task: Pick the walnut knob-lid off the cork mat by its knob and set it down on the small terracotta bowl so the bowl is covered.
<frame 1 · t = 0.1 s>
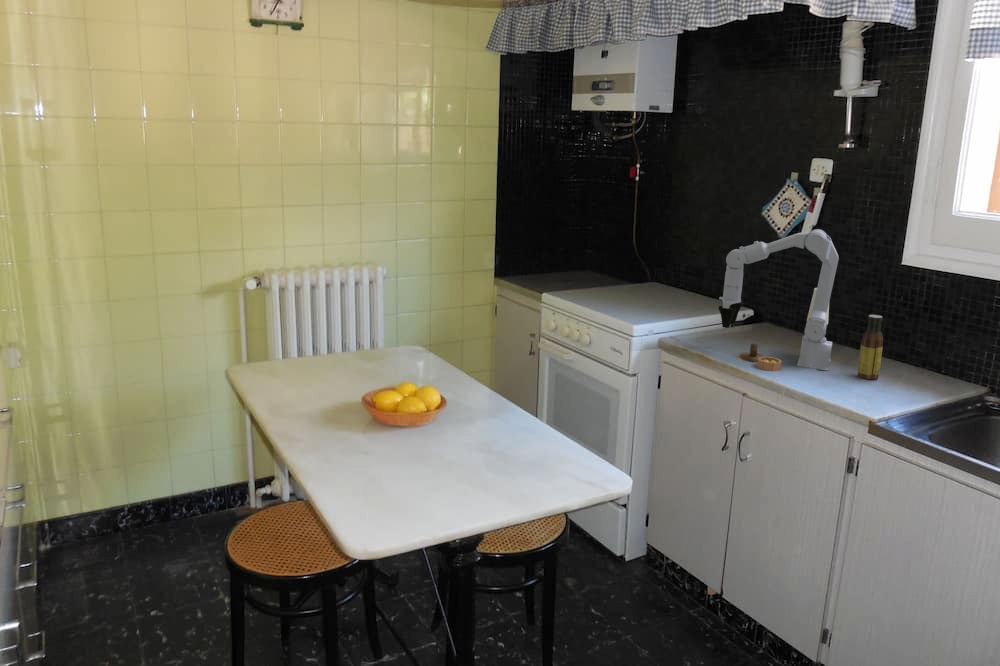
hand: (728, 325, 268), 10 cm above the table, tool pointing down, fingers open, 7 cm apart
bowl: (768, 368, 256), on the table
sauce bottle: (867, 377, 251), on the table
mat: (752, 359, 265), on the table
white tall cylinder: (811, 359, 268), on the table
lid: (752, 358, 265), resting on mat
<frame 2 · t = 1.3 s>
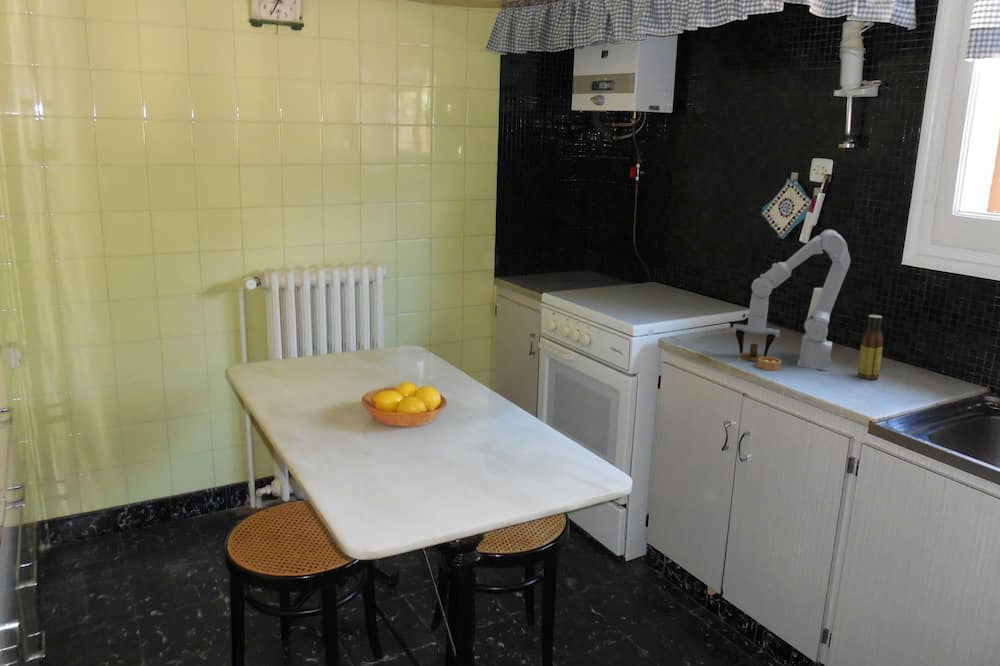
hand: (753, 354, 265), 2 cm above the table, tool pointing down, fingers open, 7 cm apart
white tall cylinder: (811, 359, 268), on the table, touching arm
everything else where it was.
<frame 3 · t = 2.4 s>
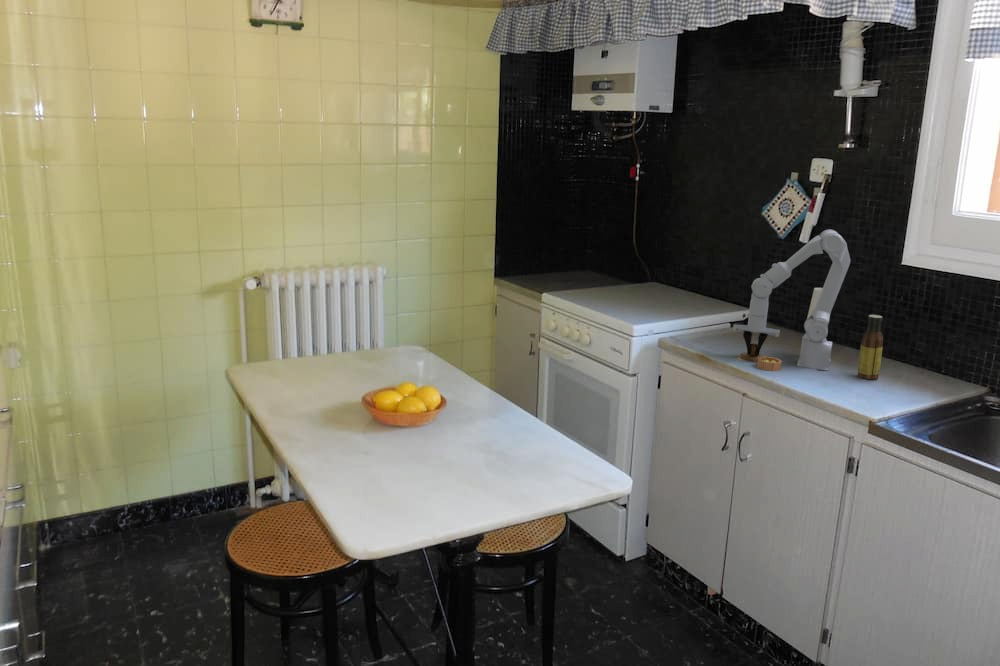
hand: (753, 354, 265), 2 cm above the table, tool pointing down, fingers closed on lid, 2 cm apart
lid: (752, 358, 265), resting on mat, touching gripper
everything else where it was.
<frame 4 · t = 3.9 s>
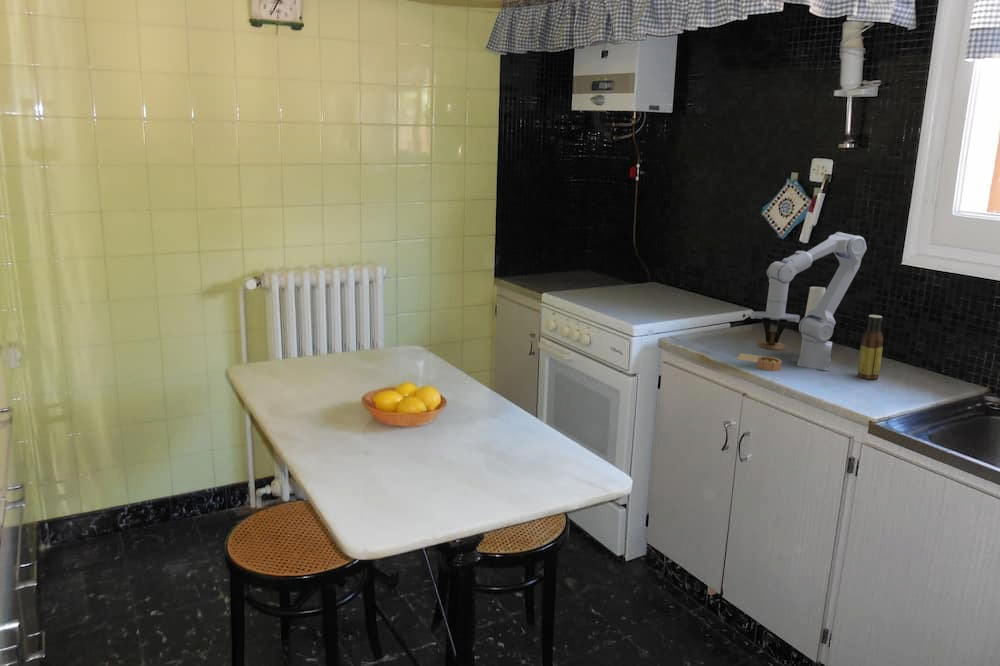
hand: (771, 341, 254), 9 cm above the table, tool pointing down, fingers closed on lid, 2 cm apart
lid: (770, 346, 254), point 7 cm above the table, touching gripper
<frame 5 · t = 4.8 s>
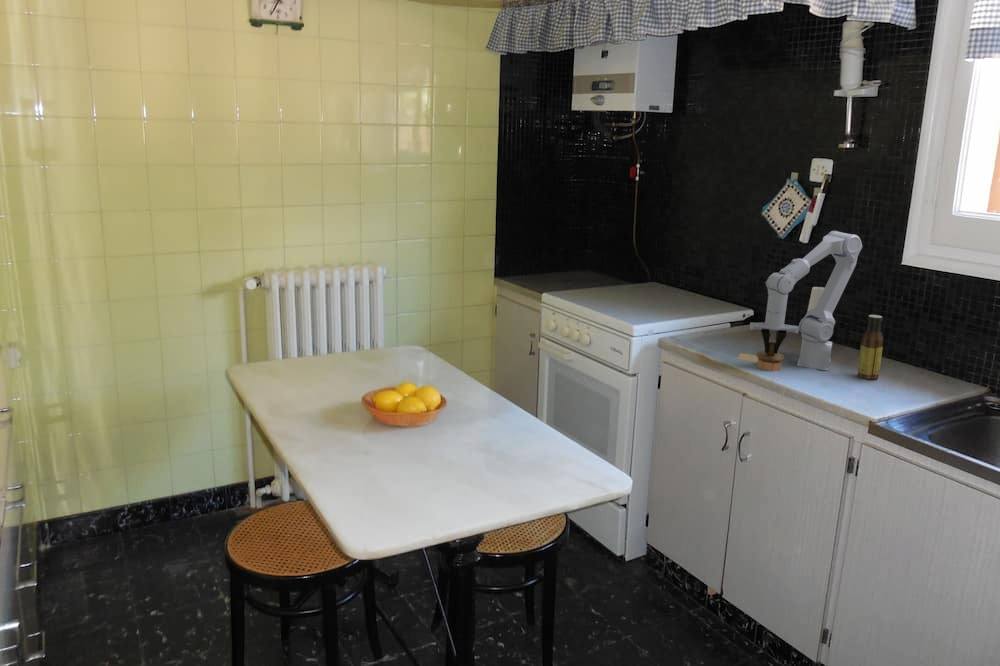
hand: (770, 352, 254), 5 cm above the table, tool pointing down, fingers closed on lid, 2 cm apart
lid: (770, 357, 255), point 4 cm above the table, touching gripper
everything else where it was.
when the fingers open (5 cm above the table, at t = 5.2 s): lid stays where it is, resting on bowl.
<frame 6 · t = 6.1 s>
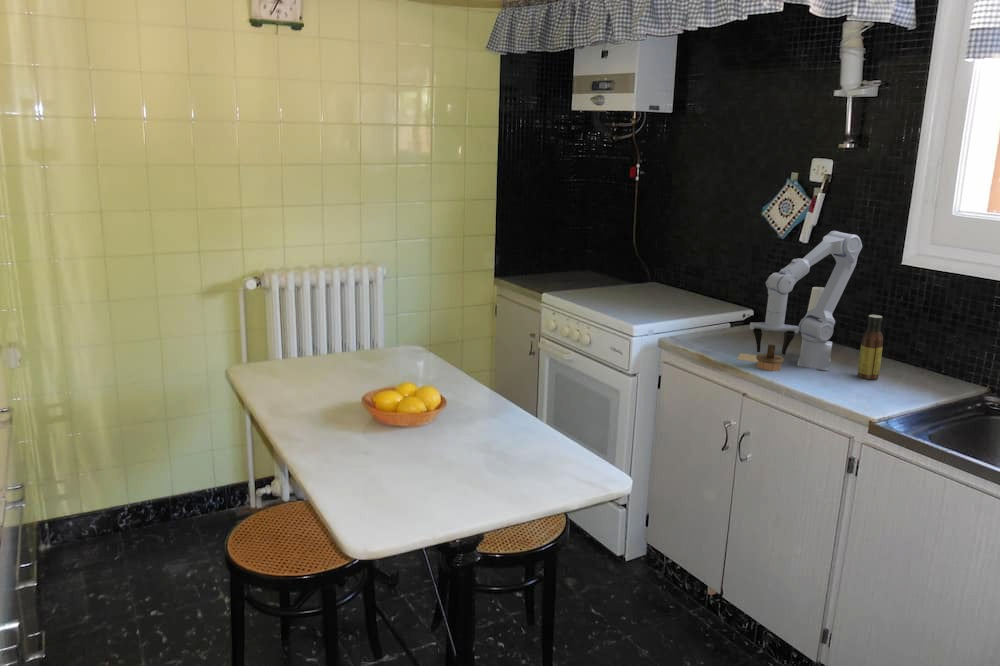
hand: (770, 352, 254), 5 cm above the table, tool pointing down, fingers open, 7 cm apart
lid: (769, 359, 255), point 3 cm above the table, touching bowl
everything else where it was.
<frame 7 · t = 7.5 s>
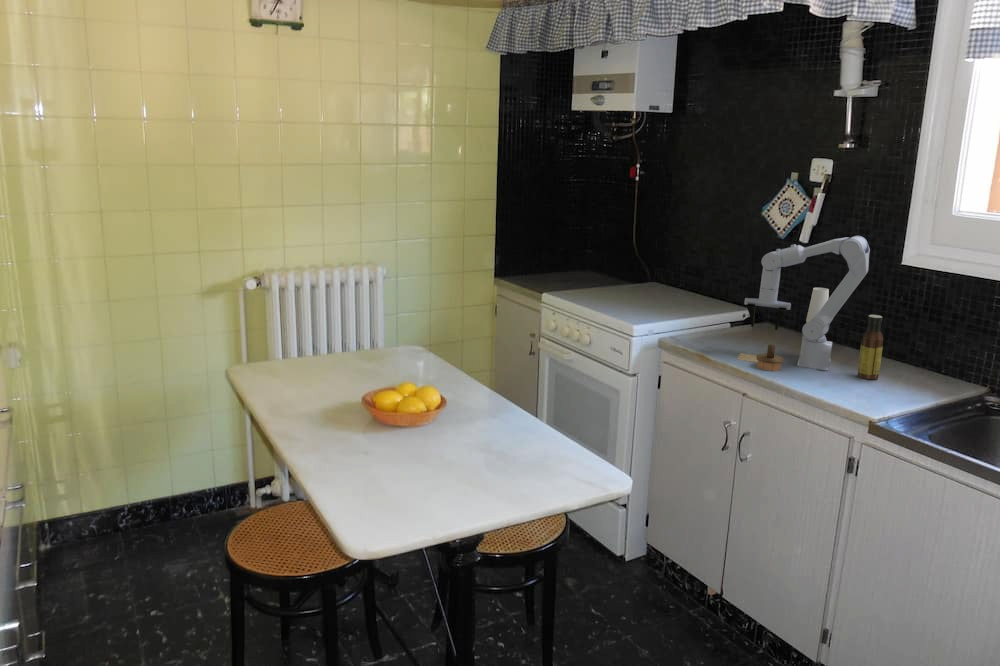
hand: (764, 327, 267), 10 cm above the table, tool pointing down, fingers open, 7 cm apart
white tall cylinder: (812, 359, 268), on the table
everything else where it was.
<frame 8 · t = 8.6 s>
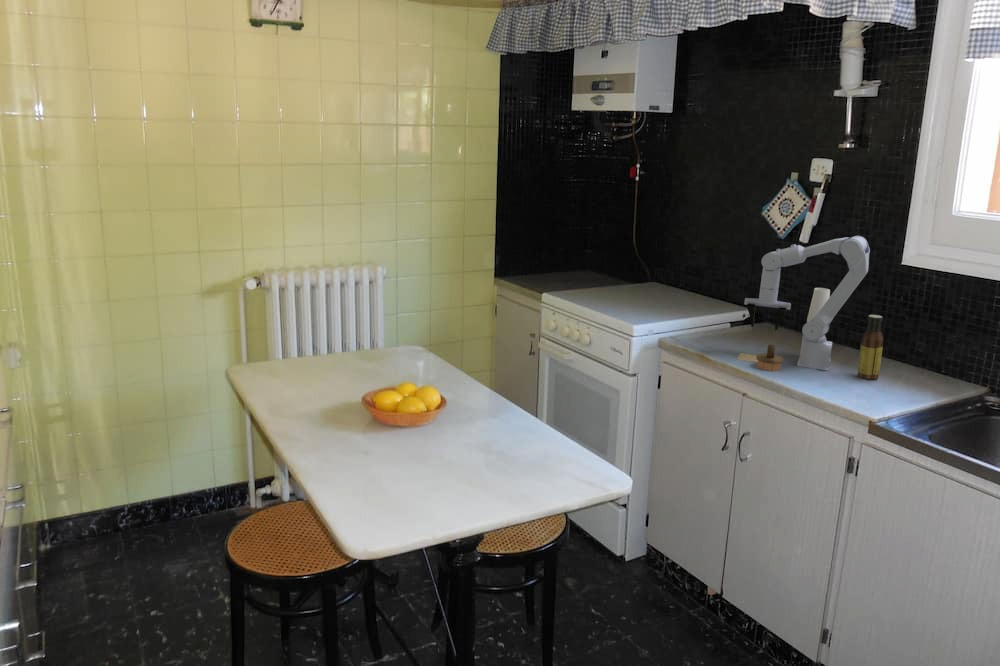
hand: (764, 327, 267), 10 cm above the table, tool pointing down, fingers open, 7 cm apart
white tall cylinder: (812, 359, 268), on the table, touching arm
everything else where it was.
at the end: lid 0.1 cm off-centre on the bowl, point 3.0 cm above the bowl's base; lid tilted 0°; the gripper is holding nothing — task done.
